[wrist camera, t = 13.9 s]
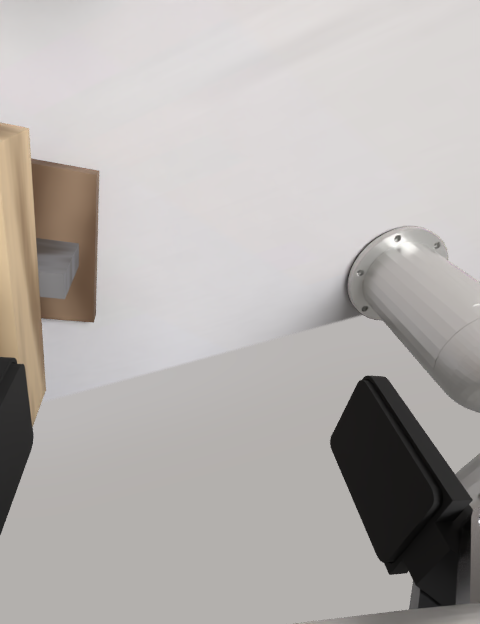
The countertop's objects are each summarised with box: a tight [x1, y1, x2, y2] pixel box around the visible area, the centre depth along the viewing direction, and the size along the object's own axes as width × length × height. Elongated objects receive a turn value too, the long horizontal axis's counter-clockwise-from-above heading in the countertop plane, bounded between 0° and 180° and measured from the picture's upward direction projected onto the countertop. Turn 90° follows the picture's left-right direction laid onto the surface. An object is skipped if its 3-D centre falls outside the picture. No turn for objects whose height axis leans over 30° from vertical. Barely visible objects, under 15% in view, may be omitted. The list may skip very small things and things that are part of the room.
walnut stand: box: [31, 159, 99, 322], centre depth 33 cm, size 12×16×8 cm
